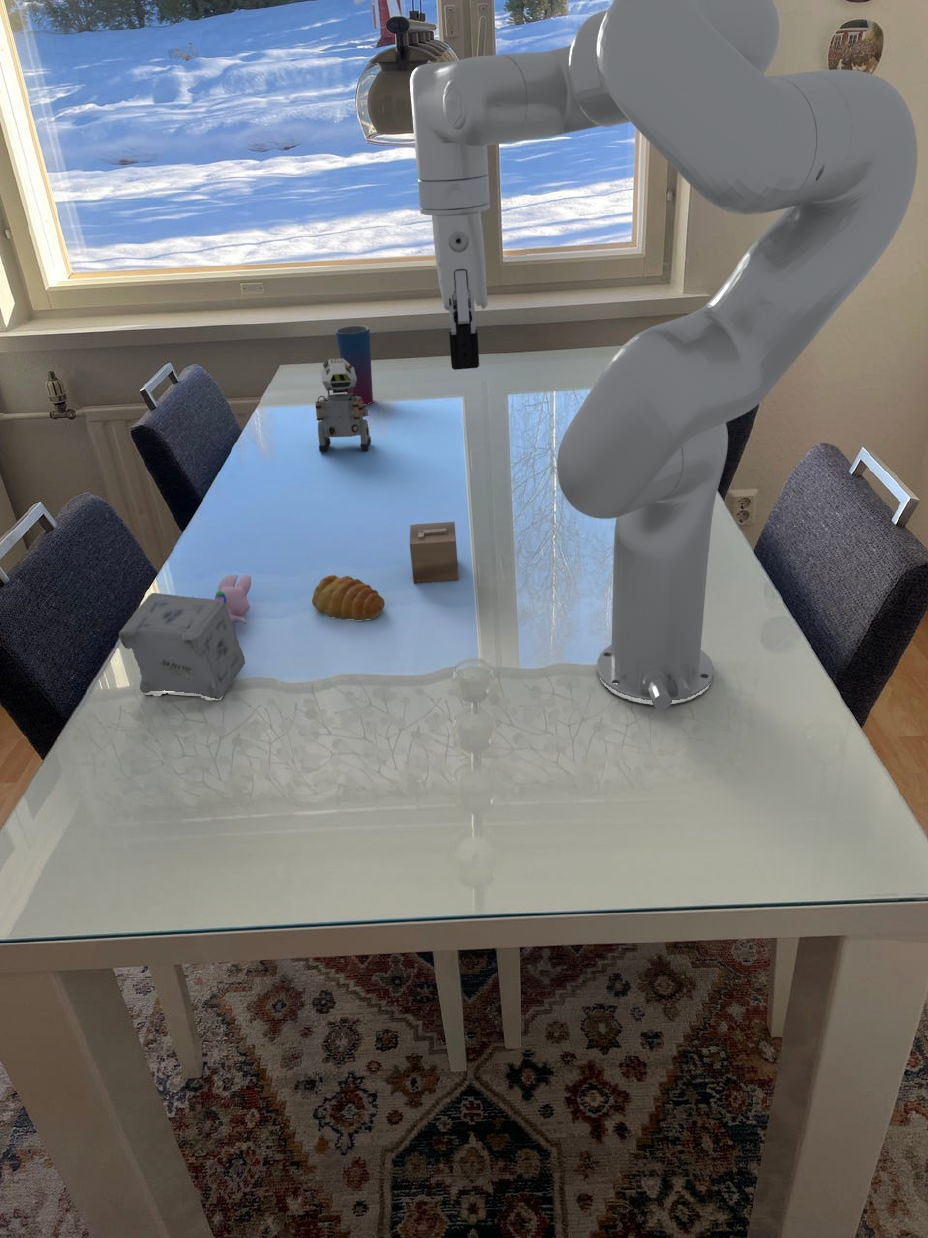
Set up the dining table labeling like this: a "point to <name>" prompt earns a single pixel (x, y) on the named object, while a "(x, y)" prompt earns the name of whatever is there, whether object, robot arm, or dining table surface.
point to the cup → (357, 357)
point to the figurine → (341, 406)
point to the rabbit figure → (235, 596)
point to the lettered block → (433, 552)
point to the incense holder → (184, 645)
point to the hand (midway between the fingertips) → (465, 366)
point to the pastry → (347, 599)
